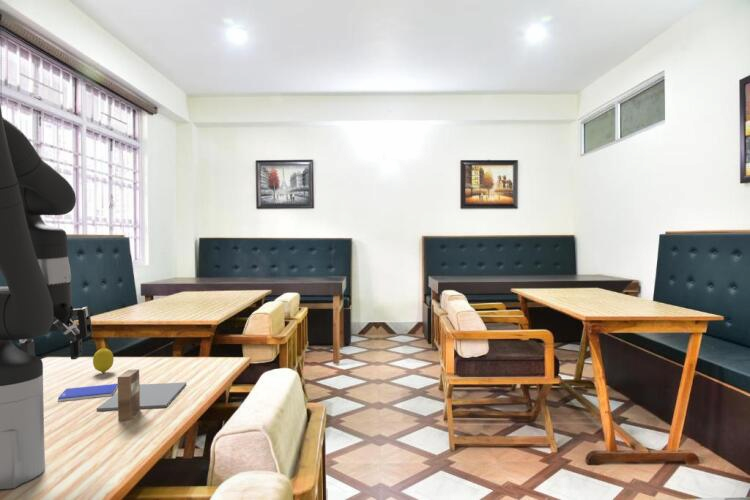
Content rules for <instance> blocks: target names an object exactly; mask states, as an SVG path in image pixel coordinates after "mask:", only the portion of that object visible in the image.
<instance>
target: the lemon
mask: <svg viewBox="0 0 750 500" xmlns="http://www.w3.org/2000/svg"><path fill="white" fill-rule="evenodd" d="M92 364H93V368H94V369H95V370H96V371H98V372H101V373H102V374H105V373H106V372H107V371H108V370H110V369H111V368H112V367H113V365H114V354H113V352H112V351H111V350H110V349H109V348H105V347H102V348H100V349H99V350H97V351H96V352H95V353H94V355H93V358H92Z"/></svg>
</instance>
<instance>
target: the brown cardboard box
mask: <svg viewBox="0 0 750 500" xmlns="http://www.w3.org/2000/svg"><path fill="white" fill-rule="evenodd" d="M117 384H118V387H117V392H118V410H117V412H118V413H117V415H118V416H117V417H118V418H117V419H118V421H130V420H131V419H132V418H134V417H135V415H137V413H139V412H140V411H141V410H140V389H139V385H140V369H137V368H136V369H127V370H126V371H124V372H122V374H121V373H120V375H119V376H117Z"/></svg>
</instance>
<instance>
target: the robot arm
mask: <svg viewBox="0 0 750 500" xmlns="http://www.w3.org/2000/svg"><path fill="white" fill-rule="evenodd" d="M1 106H2V104H1V103H0V272H1V274H2V275H3V277H4V280H5V282H6V286H0V490H8V489H9V490H11V489H15V488H17V487H18V486H20V485H22V484H24V483H27V482H30V481H31V480H33V479H35V478H36V477H38V476H40V475H42V473H43V472H44V471H45V468H46V458H45V457H46V456H45V455H46V454H45V453H46V451H45V450H46V449H45V448H46V446H45V415H44V414H45V409H44V408H45V405H44V364H43V360H42V359H41V357H38V356H37V355H36V352H35V351H36V350H35V340H34V339H39V338H41V337H43V336H45V335H46V334H48V332H49V331H51V332H53V331H54V332H57V331H60V332H61V333H62V335H66V336H67V337H68V339H69V340H70V342H69V348H70V349H69V350H70V351H69V352H70V359H71V361H72V360H77V359H78V358H80V357H81V355H83V339H86V338H87V337H89V336H91V335H92V334H93V327H92V318H91V312H90V310H91V309H90V308H89V307H88V306H84V307H82V308H74V307H73V304H72V303H73V302H72V301H73V295H72V294H73V293H72V292H73V291H72V274H71V265H70V262H69V251H68V237H67V232H66V231H65V230H64V229H62V228H59V227H55V226H51V225H48V224H46V223H45V221H44V220H43V219H42V217H41V216H63V215H67V214H69V213H71V212H72V211H73V210H74V208H75V206H76V202H77V201H76V200H77V198H76V197H77V196H76V192H75V190H74V188H73V187H72V185H71V184H70V182H69V181H68V180H67V179H66V178H65V177H64V176H63V175H61V174H60V173H59V172H57V170H55V168H53V167H52V166H51V165H49V164H48V163H47V162H45V161H44V160H42V157H41V156H40V155H39V153H38V151H37V150H36V149H35V148H34V146H33V144H32V143H31V141H30V140H29V138H27V136H26V135H25V134H24V132H23V131H22V130H21V129H19V128H18V127H17V126H16V125H15V124H14V123H12V122H11V121H9V120H8V119H6V118H5V117H4V116H3V111H2V107H1ZM73 316H75V319H77V321H78V326H77V324H76V322H74V321H73V320H72V318H73ZM13 341H17V342H19V343H20V347H21V348H20V349H19V348H18V347H17V346H15V344H14V343H13Z"/></svg>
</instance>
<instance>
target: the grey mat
mask: <svg viewBox="0 0 750 500" xmlns="http://www.w3.org/2000/svg"><path fill="white" fill-rule="evenodd" d="M186 386H187V382H169V383H167V382H166V383H165V382H163V383H147V384H145V383H144V384H140V383H139V389H140V409H156V408H157V409H158V408H160V409H161V408H167V407H168V406H169V404H171V402H172V401H173V400H174V399H175V398H176V397H177V396H178V395H179V393H180V392H181V391H182V390H183V389H184V388H185V387H186ZM99 411H100V412H103V411H118V391H117V392H115V393H114V394H113V395H112V396H111V397H109V398H108V399H107V400H106V401H105V402H103V403H101V404H100V405H99V406H98V407H96V412H99Z"/></svg>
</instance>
